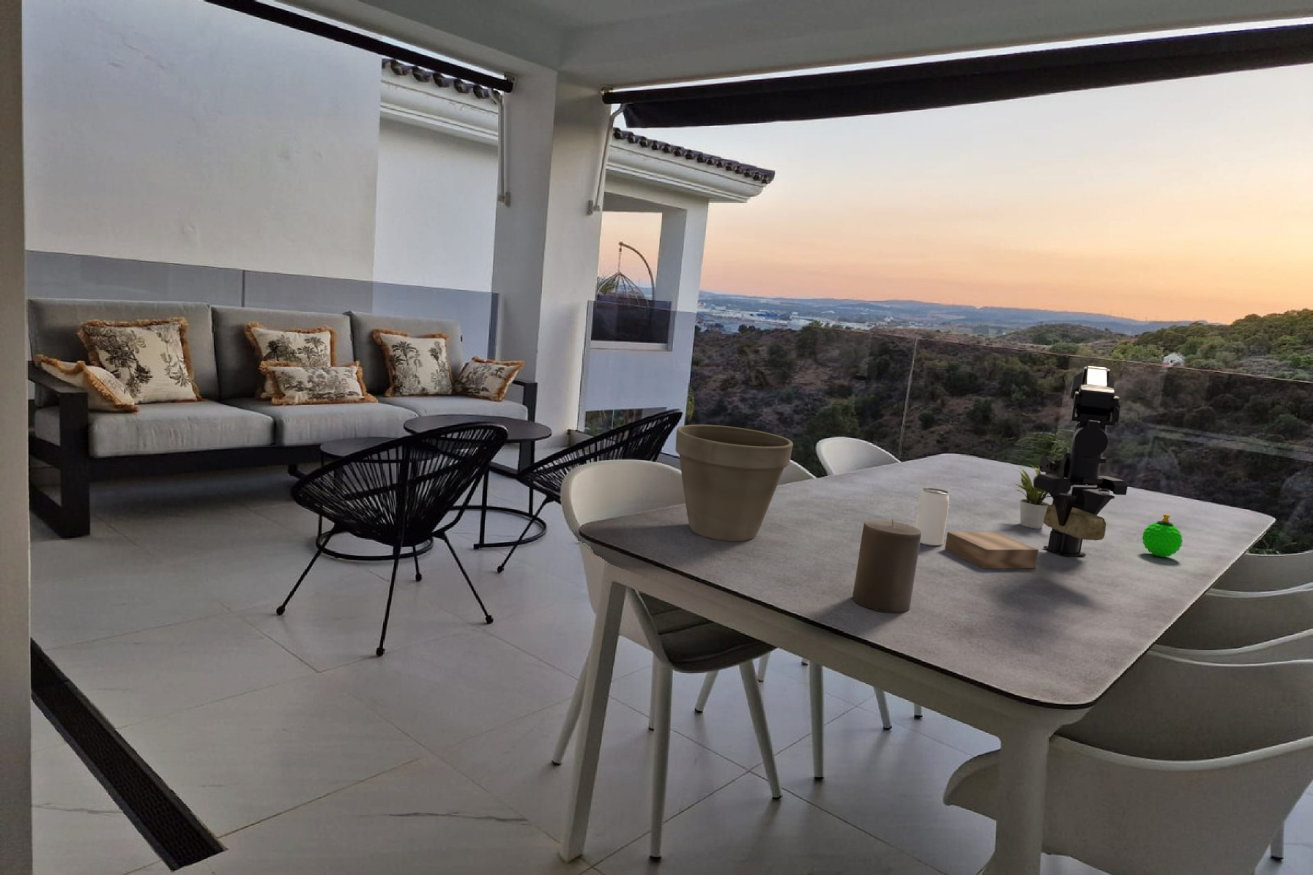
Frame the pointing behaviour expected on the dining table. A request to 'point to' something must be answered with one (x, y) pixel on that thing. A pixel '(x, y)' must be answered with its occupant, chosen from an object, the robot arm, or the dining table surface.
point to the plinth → (991, 550)
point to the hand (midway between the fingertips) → (1073, 525)
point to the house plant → (1032, 503)
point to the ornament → (1162, 538)
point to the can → (932, 516)
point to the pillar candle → (886, 566)
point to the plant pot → (729, 478)
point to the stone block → (1077, 524)
